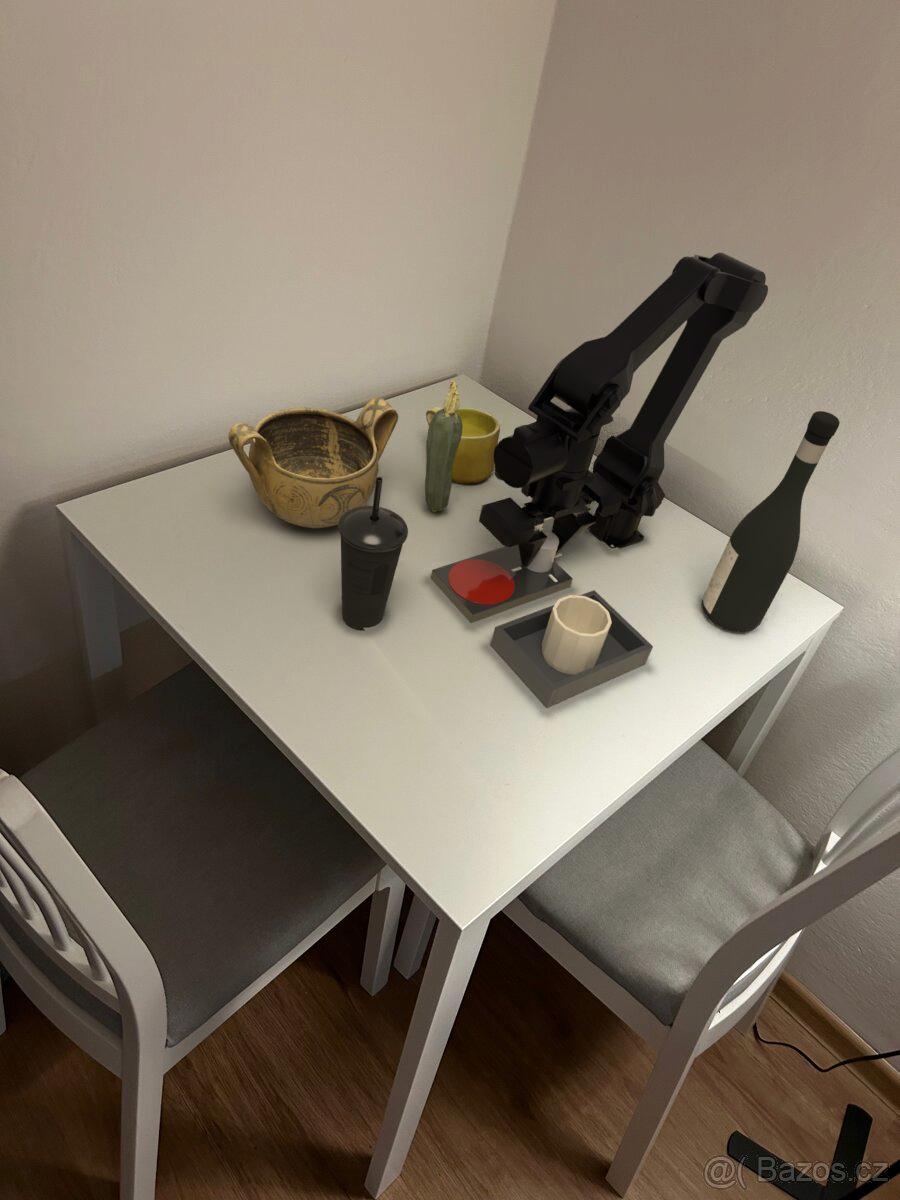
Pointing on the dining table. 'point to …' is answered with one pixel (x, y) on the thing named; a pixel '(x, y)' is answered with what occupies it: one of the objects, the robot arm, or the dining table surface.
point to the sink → (551, 686)
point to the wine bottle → (765, 541)
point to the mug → (473, 445)
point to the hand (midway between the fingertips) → (537, 559)
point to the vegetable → (442, 450)
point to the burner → (481, 581)
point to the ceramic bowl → (315, 460)
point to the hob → (525, 583)
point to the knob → (545, 554)
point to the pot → (575, 634)
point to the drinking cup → (369, 560)
